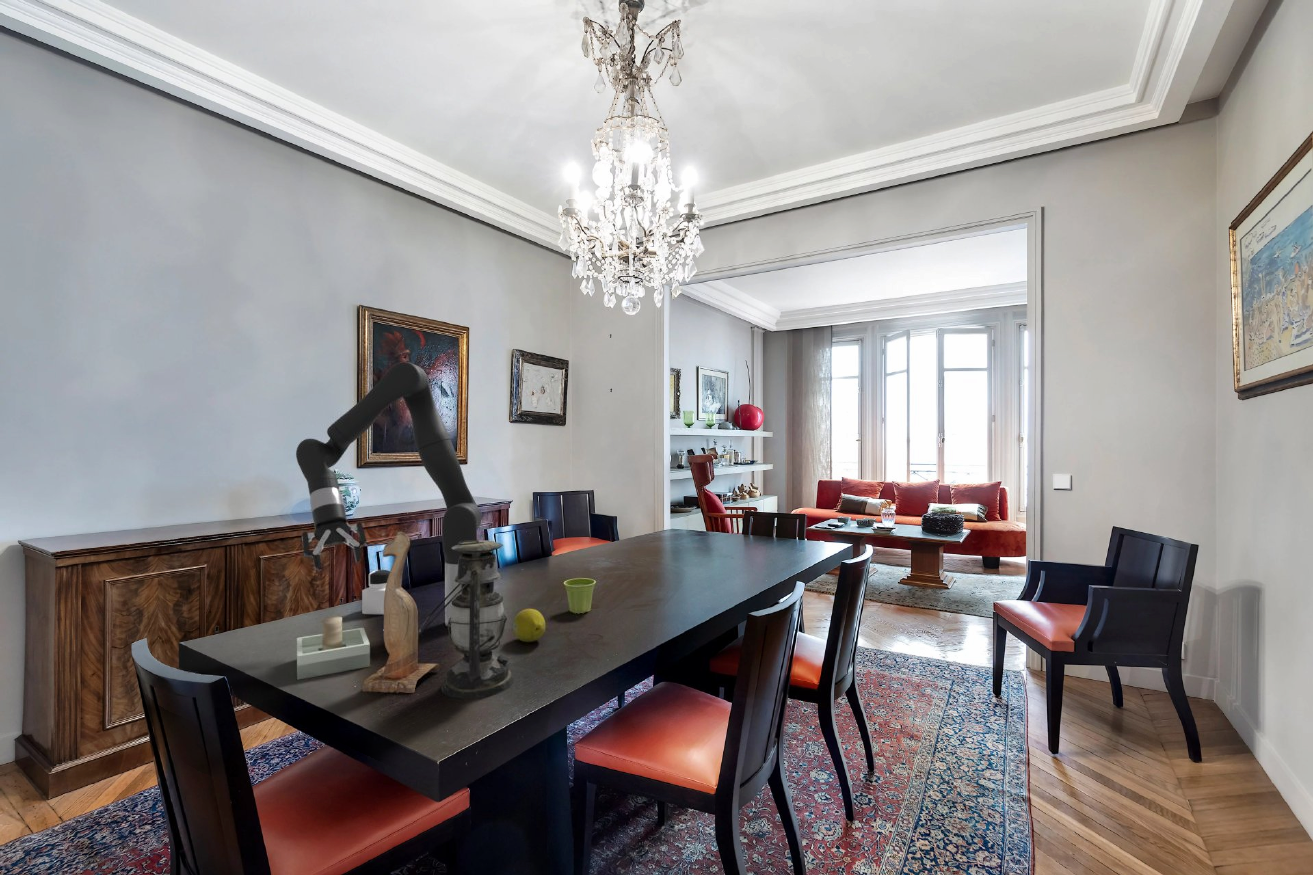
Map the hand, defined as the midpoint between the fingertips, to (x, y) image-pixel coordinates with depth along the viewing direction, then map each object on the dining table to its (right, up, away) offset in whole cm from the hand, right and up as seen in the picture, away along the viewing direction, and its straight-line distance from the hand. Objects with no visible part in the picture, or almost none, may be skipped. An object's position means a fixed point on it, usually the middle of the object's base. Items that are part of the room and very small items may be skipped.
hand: (339, 566), depth 150 cm
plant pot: (+58, -19, +26) cm, 66 cm away
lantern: (+41, -19, -27) cm, 53 cm away
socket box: (+6, -19, -15) cm, 25 cm away
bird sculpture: (+27, -19, -25) cm, 42 cm away
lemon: (+48, -19, -1) cm, 52 cm away
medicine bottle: (-2, -20, +27) cm, 33 cm away
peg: (+6, -19, -15) cm, 25 cm away
